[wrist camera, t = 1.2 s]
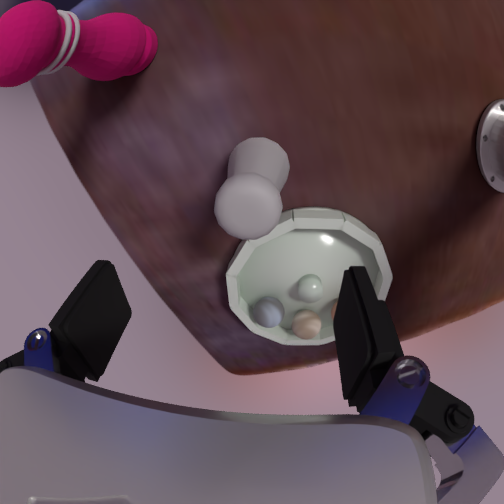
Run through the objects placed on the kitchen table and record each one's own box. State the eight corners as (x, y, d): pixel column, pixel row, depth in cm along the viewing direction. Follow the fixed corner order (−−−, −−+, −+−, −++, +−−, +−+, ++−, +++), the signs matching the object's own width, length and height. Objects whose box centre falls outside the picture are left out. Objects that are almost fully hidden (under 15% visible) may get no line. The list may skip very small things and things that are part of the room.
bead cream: (322, 303, 35) (324, 329, 32) (318, 320, 38) (319, 344, 35) (292, 303, 36) (292, 329, 33) (290, 320, 38) (290, 344, 35)
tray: (398, 210, 28) (408, 222, 26) (364, 328, 39) (368, 343, 37) (224, 205, 30) (219, 216, 28) (236, 327, 41) (234, 342, 39)
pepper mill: (171, 21, 19) (23, -30, 2) (153, 82, 23) (-11, 109, 6) (114, 21, 18) (-36, 8, 2) (99, 78, 22) (-55, 113, 6)
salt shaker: (288, 133, 25) (297, 168, 14) (288, 186, 28) (294, 255, 18) (229, 134, 26) (193, 171, 15) (233, 187, 29) (205, 255, 18)
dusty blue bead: (291, 297, 34) (269, 312, 31) (290, 323, 35) (270, 338, 33) (267, 287, 36) (245, 300, 34) (268, 312, 38) (247, 325, 35)
